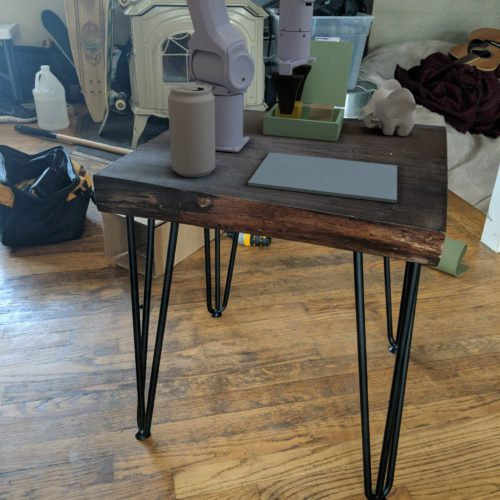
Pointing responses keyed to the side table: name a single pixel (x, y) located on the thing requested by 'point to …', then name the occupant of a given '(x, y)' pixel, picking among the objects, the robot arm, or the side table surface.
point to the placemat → (327, 177)
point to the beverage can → (192, 129)
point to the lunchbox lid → (328, 73)
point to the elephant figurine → (391, 109)
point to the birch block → (321, 112)
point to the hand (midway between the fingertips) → (289, 109)
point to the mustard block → (295, 114)
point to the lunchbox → (303, 125)
